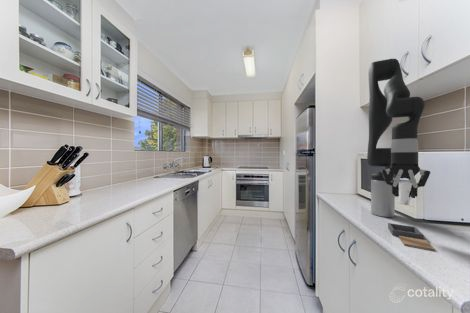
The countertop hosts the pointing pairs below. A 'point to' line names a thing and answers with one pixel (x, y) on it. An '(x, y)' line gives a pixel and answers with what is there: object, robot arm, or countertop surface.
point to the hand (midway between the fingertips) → (404, 196)
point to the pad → (416, 243)
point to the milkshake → (404, 192)
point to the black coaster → (410, 229)
